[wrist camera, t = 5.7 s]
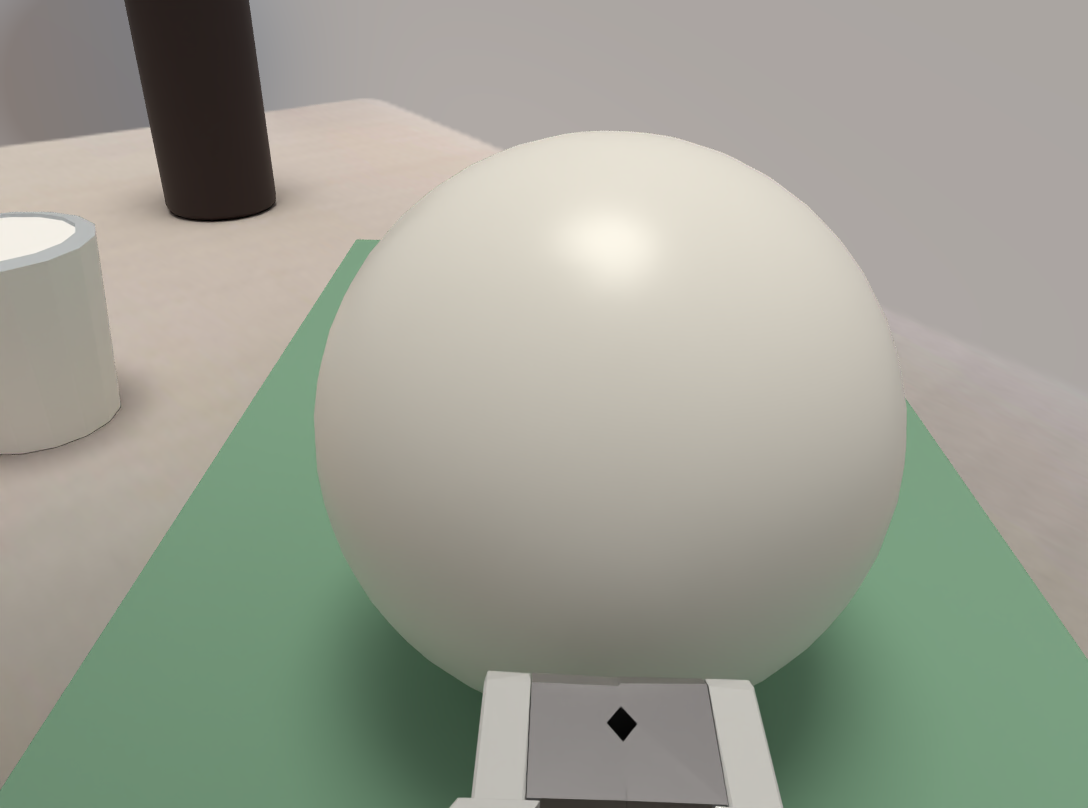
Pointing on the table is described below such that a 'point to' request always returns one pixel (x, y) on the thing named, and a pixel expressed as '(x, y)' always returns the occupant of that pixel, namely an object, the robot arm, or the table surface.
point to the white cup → (52, 333)
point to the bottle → (204, 105)
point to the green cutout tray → (454, 708)
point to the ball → (610, 416)
